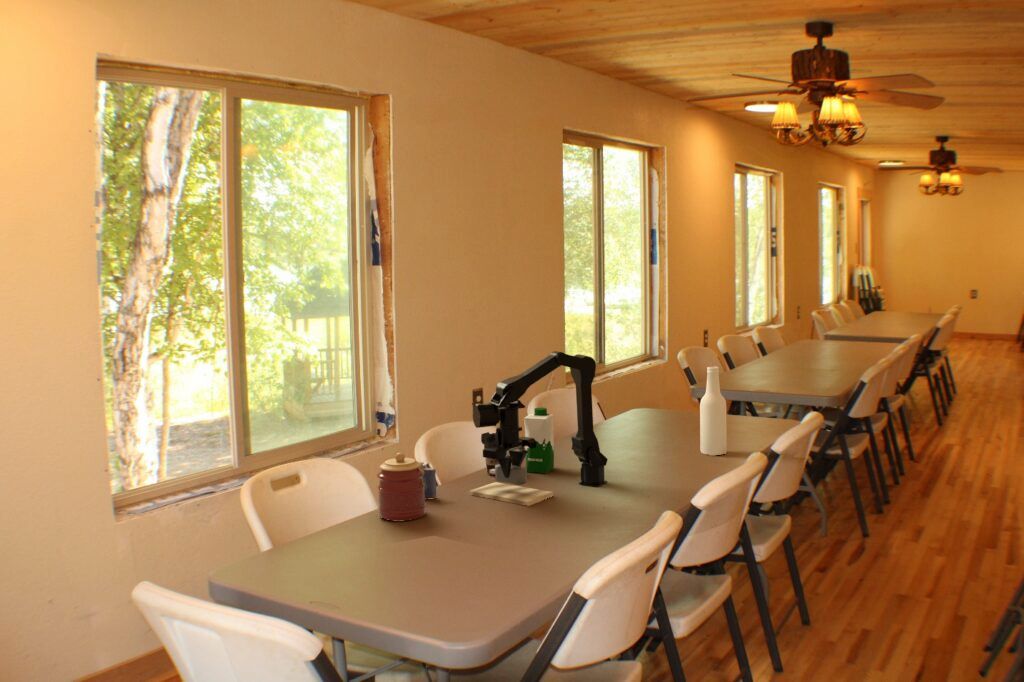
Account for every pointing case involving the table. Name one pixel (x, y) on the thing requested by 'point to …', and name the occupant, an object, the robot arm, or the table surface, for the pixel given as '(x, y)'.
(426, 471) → the flask
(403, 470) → the canister
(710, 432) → the alcohol
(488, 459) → the coffee cup
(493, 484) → the birch board
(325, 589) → the table surface
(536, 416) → the milk carton
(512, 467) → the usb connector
